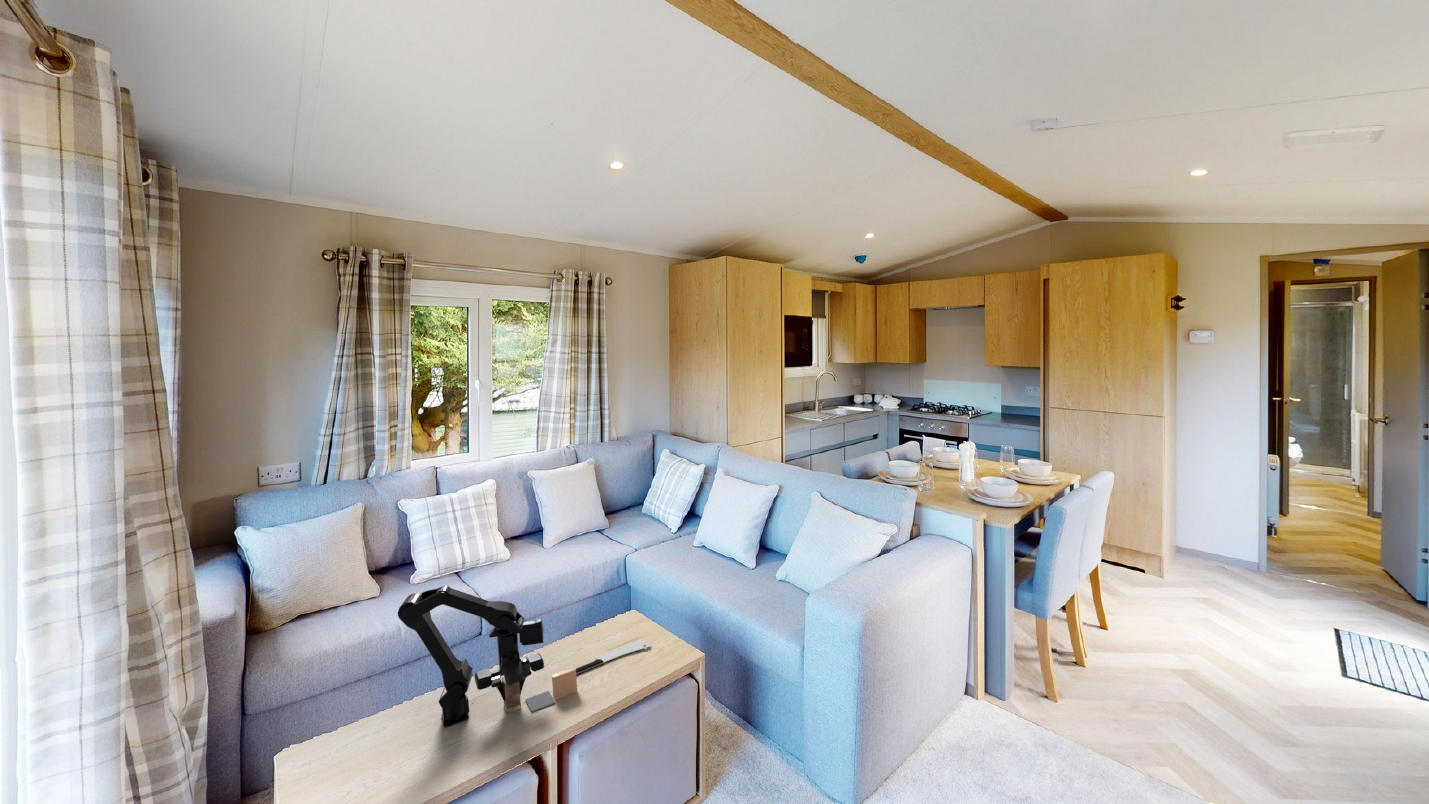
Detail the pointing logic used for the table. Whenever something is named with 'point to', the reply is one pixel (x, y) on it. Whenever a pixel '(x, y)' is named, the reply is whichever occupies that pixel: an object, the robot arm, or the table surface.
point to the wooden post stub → (511, 696)
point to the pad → (540, 701)
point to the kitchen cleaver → (614, 654)
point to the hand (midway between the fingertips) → (511, 697)
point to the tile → (564, 683)
